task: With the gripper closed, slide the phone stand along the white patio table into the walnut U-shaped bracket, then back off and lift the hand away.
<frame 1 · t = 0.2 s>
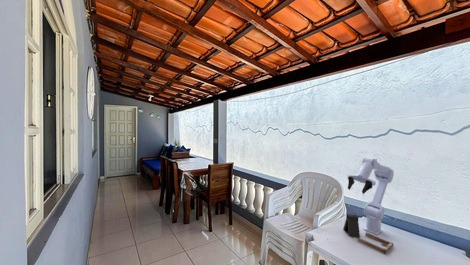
hand: (355, 190, 112), 31 cm above the table, tool tilted 45°, fingers open, 7 cm apart
phone stand: (351, 233, 124), on the table
walnut bracket: (374, 244, 113), on the table
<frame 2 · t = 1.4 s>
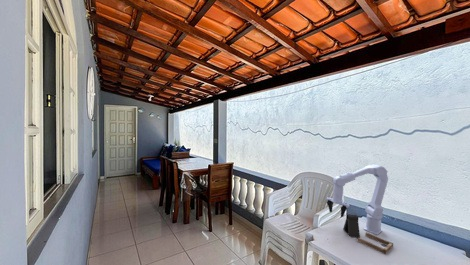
hand: (336, 214, 131), 9 cm above the table, tool pointing down, fingers open, 7 cm apart
nothing on the table moved.
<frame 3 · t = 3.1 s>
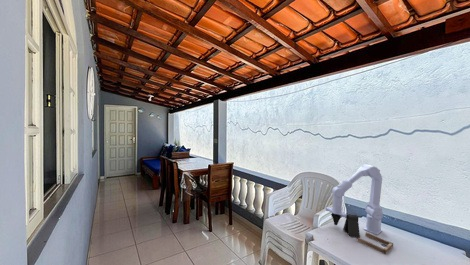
hand: (335, 224, 132), 1 cm above the table, tool pointing down, fingers closed
nothing on the table moved.
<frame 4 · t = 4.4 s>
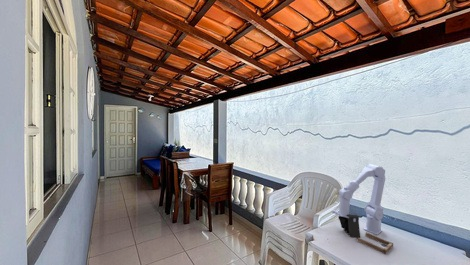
hand: (342, 227, 128), 1 cm above the table, tool pointing down, fingers closed
phone stand: (351, 233, 123), on the table, touching gripper
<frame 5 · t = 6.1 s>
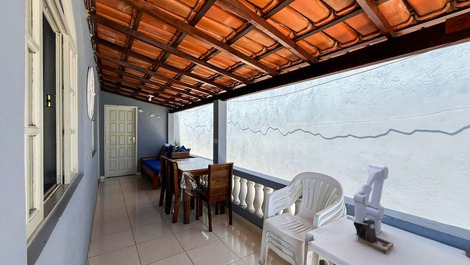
hand: (358, 234, 120), 1 cm above the table, tool pointing down, fingers closed, pressing on phone stand
phone stand: (366, 238, 118), on the table, touching gripper
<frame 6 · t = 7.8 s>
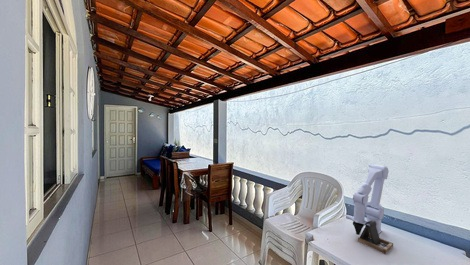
hand: (357, 234, 120), 1 cm above the table, tool pointing down, fingers closed
phone stand: (369, 241, 116), on the table
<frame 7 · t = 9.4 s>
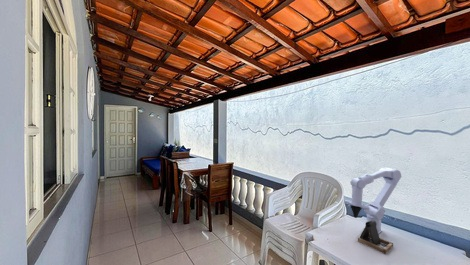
hand: (355, 217, 126), 9 cm above the table, tool pointing down, fingers closed
nothing on the table moved.
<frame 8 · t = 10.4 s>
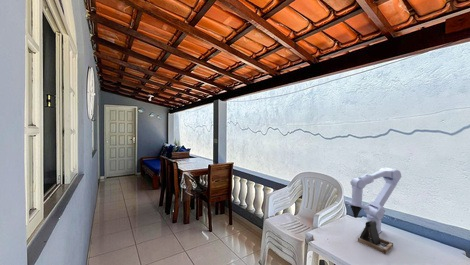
hand: (355, 217, 126), 9 cm above the table, tool pointing down, fingers closed
nothing on the table moved.
at the end: phone stand 2.5 cm off-centre on the walnut bracket, point 0.0 cm above the walnut bracket's base; phone stand tilted 0°; phone stand moved 10.1 cm from its start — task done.
